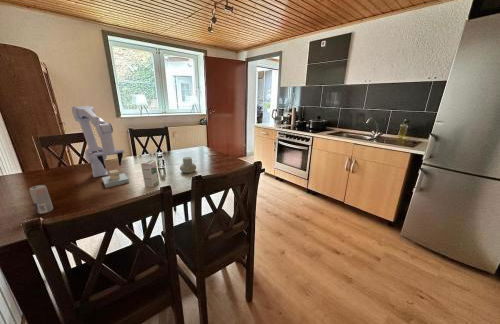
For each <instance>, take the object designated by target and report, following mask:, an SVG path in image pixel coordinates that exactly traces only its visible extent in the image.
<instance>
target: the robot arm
mask: <svg viewBox="0 0 500 324" xmlns="http://www.w3.org/2000/svg"><path fill="white" fill-rule="evenodd" d="M71 113H72V116H73V119H74V121H76V122H78V123H79V124H80V128H81V131H82V133H83V136H84V138H85V142H86V144H87V149H86V150H85V151H84V155H85V160H86V162H88V163H89V164H90V166H91V170H92V172H91V173H92V177H93V178H97V177H104V176H109V171H108V170H107V168H106V164H105V161H106V160H107V159H108V158H107V157H108V156H112V155H116V157H117V160H118V165H119V167H120V166H122V159H123V157H124V154H125V150H124V149H117V150H116V149H115V143H114V140H113V133H114V129H113V126H112V123H110V122H106V121H105V120H104V119H103V118H101V117H100V116H98V115H96V111H95V108H94V107H93V106H92V105H83V106H82V105H81V106H80V105H79V106H75V105H74V106H72V108H71ZM91 124H92V125H93V127H95V129H96V132H97V135H98V137H99V138H100V143H101V147H100V146H99V145H98V143H97V140H96V137H95V134H94V132H93V129H92V126H91Z"/></svg>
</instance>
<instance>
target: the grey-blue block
mask: <svg viewBox="0 0 500 324" xmlns="http://www.w3.org/2000/svg"><path fill="white" fill-rule="evenodd" d="M119 176H120V179H115V180H111V178H110V175H107V176H102V177H101V180H102V182H103V185H104V187H105V189H106V188H107V189H108V188H111V187H115V186H119V185H125V184H127V183H128V184H129V183H130V181H129V178H128V176H127V175H126V173H119Z"/></svg>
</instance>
